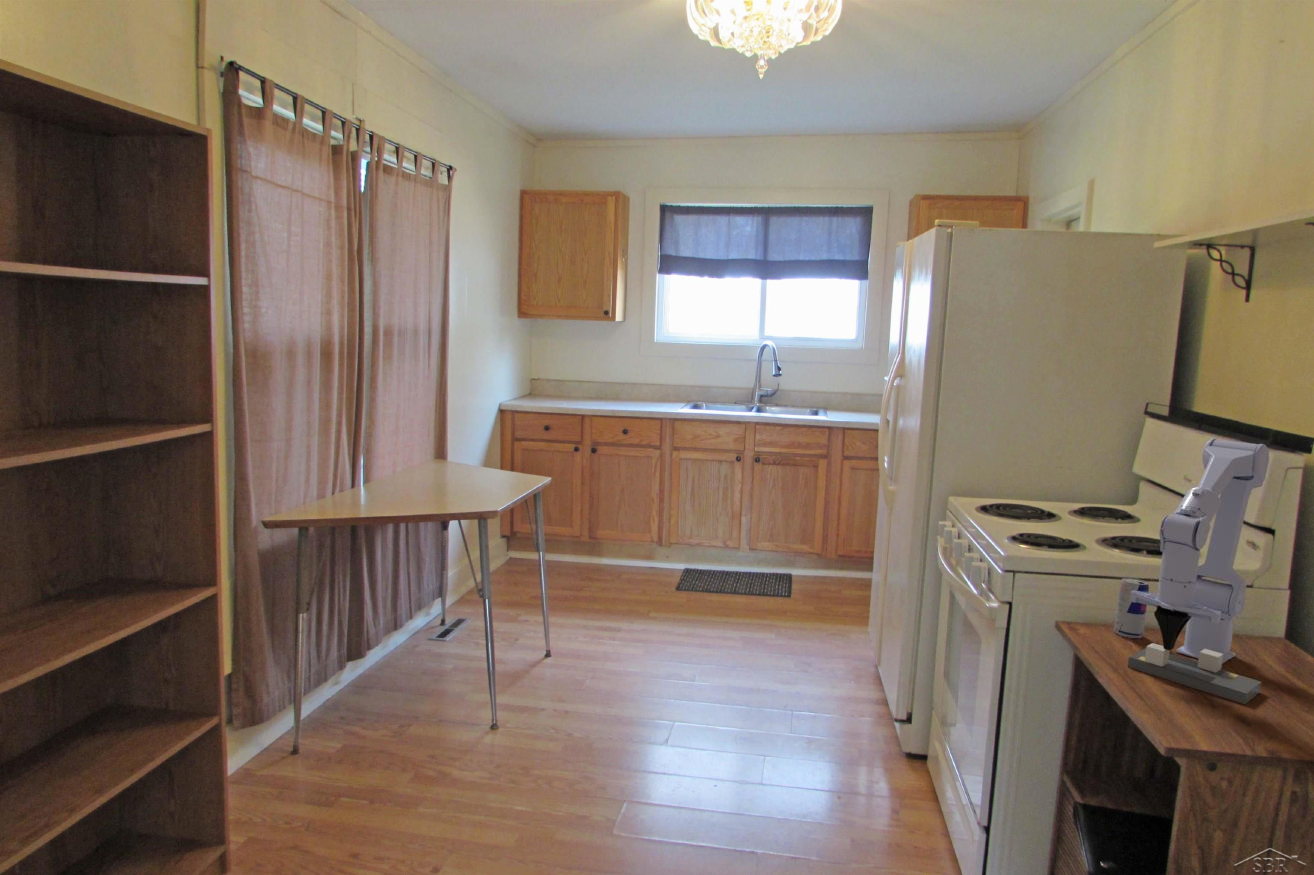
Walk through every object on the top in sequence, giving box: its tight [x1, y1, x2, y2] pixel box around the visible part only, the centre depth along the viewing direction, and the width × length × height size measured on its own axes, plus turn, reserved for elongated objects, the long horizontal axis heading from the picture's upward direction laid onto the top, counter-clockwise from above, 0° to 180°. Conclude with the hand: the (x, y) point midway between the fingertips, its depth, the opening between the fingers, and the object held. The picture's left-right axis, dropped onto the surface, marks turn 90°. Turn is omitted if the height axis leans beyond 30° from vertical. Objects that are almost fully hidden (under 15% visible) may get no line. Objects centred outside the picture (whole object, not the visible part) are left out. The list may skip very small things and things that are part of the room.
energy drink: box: [1113, 577, 1150, 639], centre depth 174 cm, size 5×5×12 cm
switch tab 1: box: [1145, 642, 1171, 667], centre depth 153 cm, size 3×3×3 cm
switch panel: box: [1127, 647, 1262, 705], centre depth 151 cm, size 10×19×2 cm, turn 39°
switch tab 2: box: [1197, 649, 1223, 673], centre depth 151 cm, size 3×3×3 cm
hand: (1168, 648), depth 152 cm, fingers closed
